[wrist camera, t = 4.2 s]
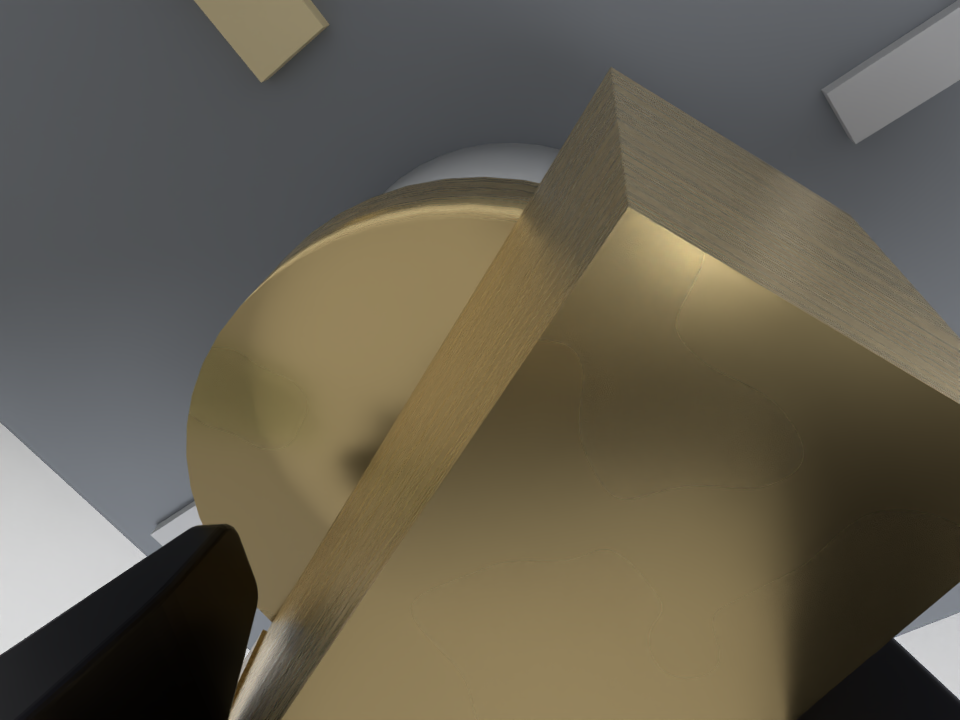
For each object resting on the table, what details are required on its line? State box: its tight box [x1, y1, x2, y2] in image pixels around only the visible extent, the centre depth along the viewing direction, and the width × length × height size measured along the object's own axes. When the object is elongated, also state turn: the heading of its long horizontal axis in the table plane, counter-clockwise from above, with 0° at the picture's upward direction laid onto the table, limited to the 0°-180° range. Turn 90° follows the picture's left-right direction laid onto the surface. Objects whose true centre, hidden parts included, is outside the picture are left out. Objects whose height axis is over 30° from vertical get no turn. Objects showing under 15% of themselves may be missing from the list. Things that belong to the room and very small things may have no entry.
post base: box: [0, 0, 960, 650], centre depth 12 cm, size 18×18×4 cm
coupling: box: [186, 67, 960, 720], centre depth 8 cm, size 6×9×5 cm
